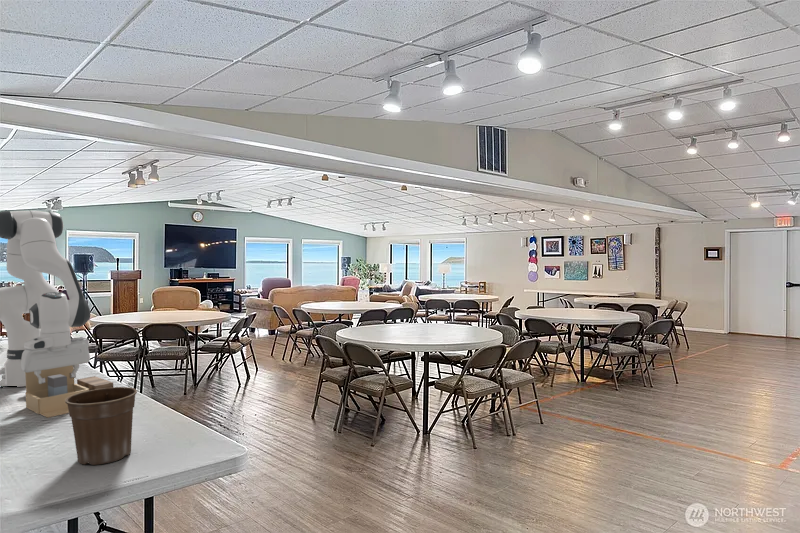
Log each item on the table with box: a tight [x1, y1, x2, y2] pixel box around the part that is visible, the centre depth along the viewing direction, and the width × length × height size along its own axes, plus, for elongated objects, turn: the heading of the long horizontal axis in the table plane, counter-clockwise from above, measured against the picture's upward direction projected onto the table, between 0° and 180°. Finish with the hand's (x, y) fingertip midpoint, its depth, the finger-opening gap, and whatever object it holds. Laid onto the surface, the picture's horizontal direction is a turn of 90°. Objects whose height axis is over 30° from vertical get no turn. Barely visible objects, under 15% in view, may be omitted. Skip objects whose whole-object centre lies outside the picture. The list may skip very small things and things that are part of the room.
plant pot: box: [65, 386, 138, 466], centre depth 143 cm, size 16×16×16 cm
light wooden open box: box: [25, 365, 89, 419], centre depth 188 cm, size 20×16×13 cm
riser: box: [76, 375, 114, 391], centre depth 200 cm, size 16×6×6 cm, turn 50°
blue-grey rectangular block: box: [47, 374, 68, 397], centre depth 190 cm, size 6×4×10 cm, turn 50°
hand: (57, 380), depth 190 cm, fingers open, 8 cm apart
